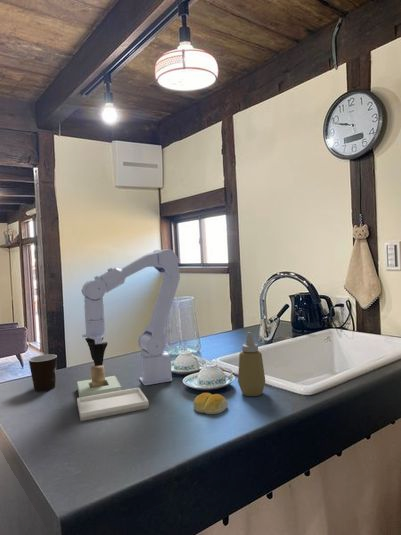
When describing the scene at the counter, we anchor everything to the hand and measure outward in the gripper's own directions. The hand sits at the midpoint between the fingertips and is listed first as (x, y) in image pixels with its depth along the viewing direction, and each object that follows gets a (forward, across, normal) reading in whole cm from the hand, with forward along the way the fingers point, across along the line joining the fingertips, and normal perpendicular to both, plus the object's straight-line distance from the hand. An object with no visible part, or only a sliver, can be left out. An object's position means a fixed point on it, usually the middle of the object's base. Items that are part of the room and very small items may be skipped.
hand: (97, 362), depth 121 cm
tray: (+9, +14, +2) cm, 17 cm away
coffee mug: (+10, -14, -15) cm, 23 cm away
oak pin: (+9, 0, 0) cm, 9 cm away
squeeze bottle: (+9, +24, +41) cm, 49 cm away
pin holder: (+9, 0, 0) cm, 9 cm away
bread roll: (+10, +28, +26) cm, 39 cm away
